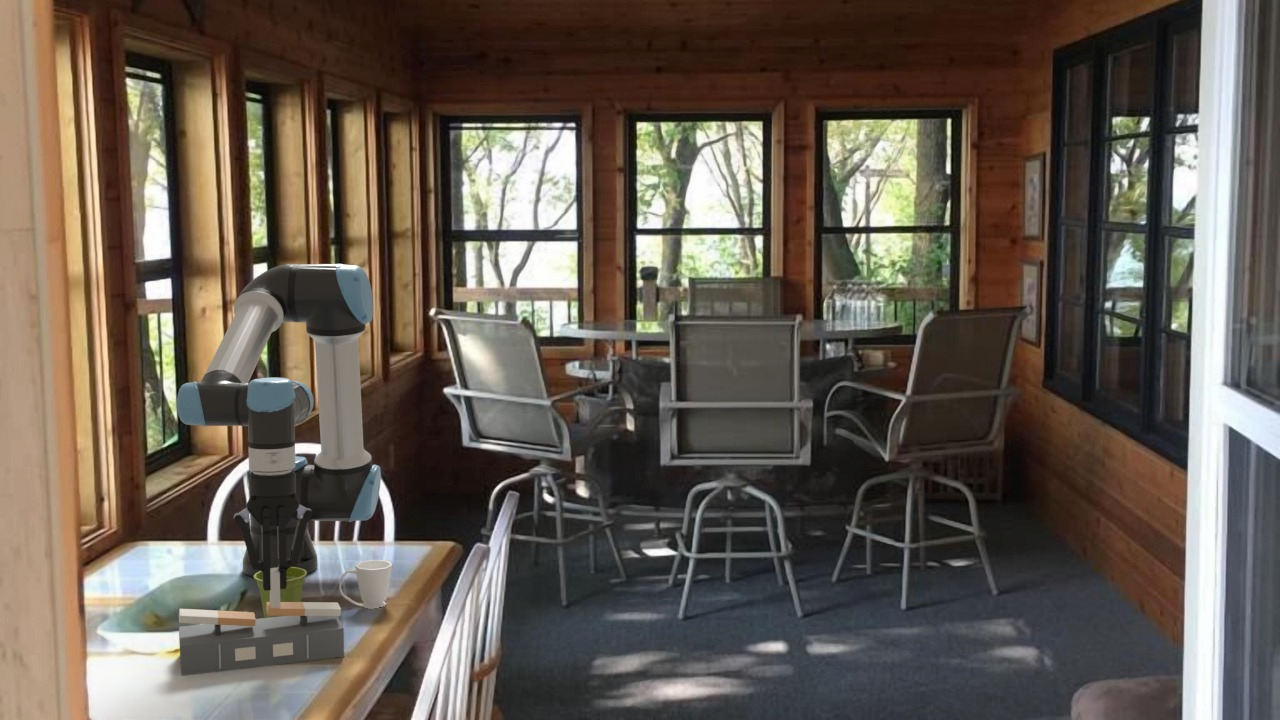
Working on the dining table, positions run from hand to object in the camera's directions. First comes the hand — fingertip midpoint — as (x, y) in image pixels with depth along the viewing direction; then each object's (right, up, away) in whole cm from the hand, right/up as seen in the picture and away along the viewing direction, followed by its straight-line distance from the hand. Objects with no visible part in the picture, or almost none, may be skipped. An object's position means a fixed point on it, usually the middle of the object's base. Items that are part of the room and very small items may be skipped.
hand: (275, 607), depth 217 cm
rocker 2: (+4, -1, +2) cm, 5 cm away
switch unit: (-2, -8, 0) cm, 9 cm away
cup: (+9, -5, +28) cm, 30 cm away
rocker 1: (-9, -1, -3) cm, 9 cm away
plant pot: (-4, -6, +20) cm, 21 cm away
